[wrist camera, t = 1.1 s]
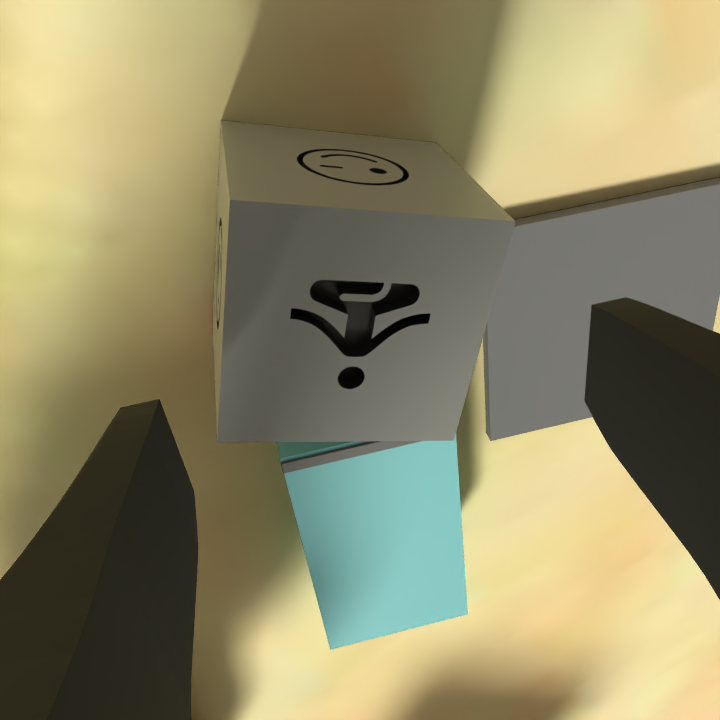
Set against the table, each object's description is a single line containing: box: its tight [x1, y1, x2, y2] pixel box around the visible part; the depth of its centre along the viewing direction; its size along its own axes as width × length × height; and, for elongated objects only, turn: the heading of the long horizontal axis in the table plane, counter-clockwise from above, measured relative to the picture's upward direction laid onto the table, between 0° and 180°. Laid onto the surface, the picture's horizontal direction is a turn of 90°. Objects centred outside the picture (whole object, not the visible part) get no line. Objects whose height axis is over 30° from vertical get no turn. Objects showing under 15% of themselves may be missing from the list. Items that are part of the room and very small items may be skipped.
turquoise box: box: [277, 431, 468, 650], centre depth 20 cm, size 8×4×3 cm, turn 8°
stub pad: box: [483, 177, 720, 441], centre depth 20 cm, size 7×7×1 cm
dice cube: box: [212, 120, 516, 443], centre depth 15 cm, size 5×5×5 cm
